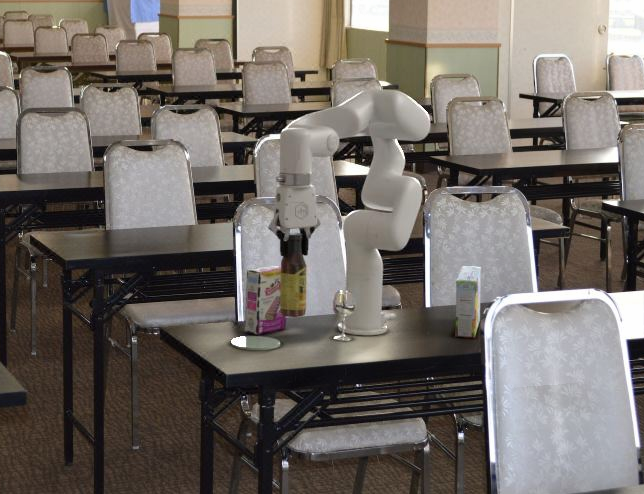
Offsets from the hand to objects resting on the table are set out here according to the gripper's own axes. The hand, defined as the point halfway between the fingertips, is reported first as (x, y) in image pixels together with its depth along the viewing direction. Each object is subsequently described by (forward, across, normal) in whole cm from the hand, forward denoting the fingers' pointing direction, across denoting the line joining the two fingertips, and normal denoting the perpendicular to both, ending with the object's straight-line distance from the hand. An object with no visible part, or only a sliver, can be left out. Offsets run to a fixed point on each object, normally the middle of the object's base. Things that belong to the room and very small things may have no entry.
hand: (294, 254), depth 296 cm
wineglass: (+25, +19, +6) cm, 32 cm away
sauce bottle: (+15, 0, 0) cm, 15 cm away
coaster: (+24, -4, +11) cm, 27 cm away
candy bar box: (+24, +6, +22) cm, 33 cm away
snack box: (+25, +56, 0) cm, 61 cm away
